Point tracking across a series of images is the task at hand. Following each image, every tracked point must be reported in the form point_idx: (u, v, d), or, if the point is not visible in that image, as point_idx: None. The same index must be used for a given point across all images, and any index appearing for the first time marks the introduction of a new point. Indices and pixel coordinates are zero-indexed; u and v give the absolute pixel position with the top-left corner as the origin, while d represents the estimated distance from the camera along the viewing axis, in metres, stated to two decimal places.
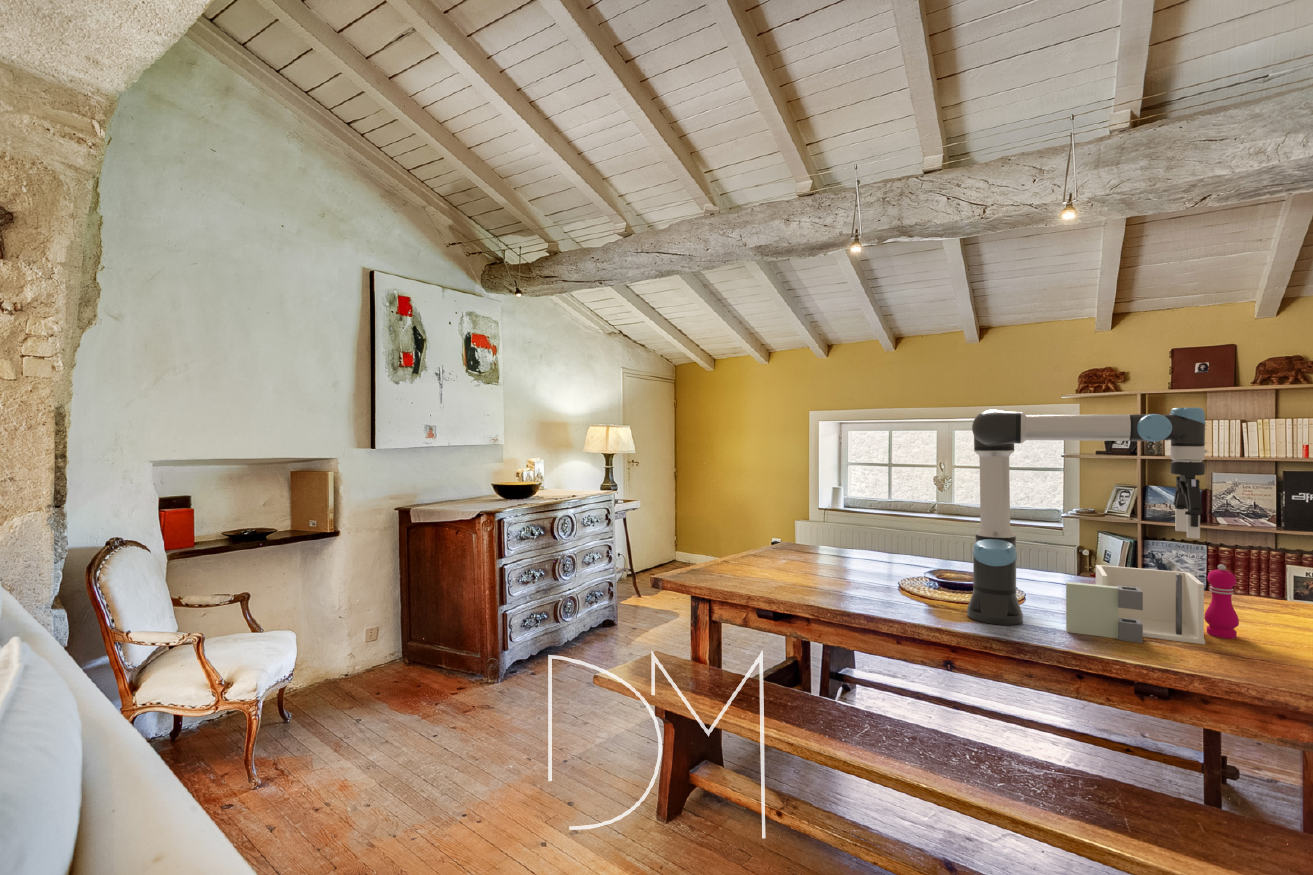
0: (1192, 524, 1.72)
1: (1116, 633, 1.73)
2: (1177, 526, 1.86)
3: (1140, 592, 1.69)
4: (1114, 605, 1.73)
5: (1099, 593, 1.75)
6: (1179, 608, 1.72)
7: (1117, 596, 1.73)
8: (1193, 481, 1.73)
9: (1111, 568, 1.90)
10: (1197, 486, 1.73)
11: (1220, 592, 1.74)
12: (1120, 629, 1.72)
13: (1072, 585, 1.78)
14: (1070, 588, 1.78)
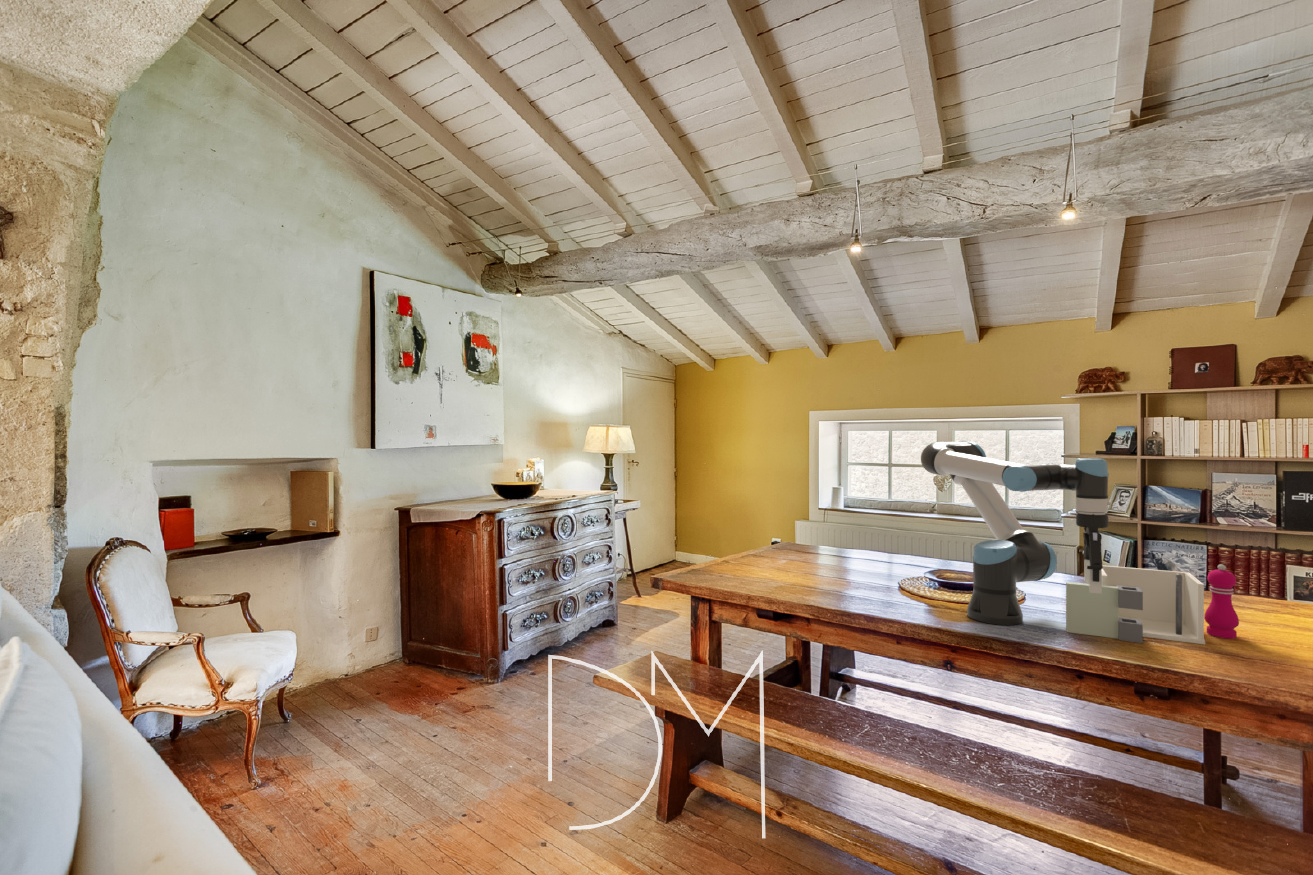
0: (1093, 579, 1.70)
1: (1116, 633, 1.73)
2: (1086, 577, 1.83)
3: (1140, 592, 1.69)
4: (1114, 605, 1.73)
5: None
6: (1179, 608, 1.72)
7: (1117, 596, 1.73)
8: (1094, 535, 1.71)
9: (1111, 568, 1.90)
10: (1098, 540, 1.70)
11: (1220, 592, 1.74)
12: (1120, 629, 1.72)
13: (1072, 585, 1.78)
14: (1070, 588, 1.78)
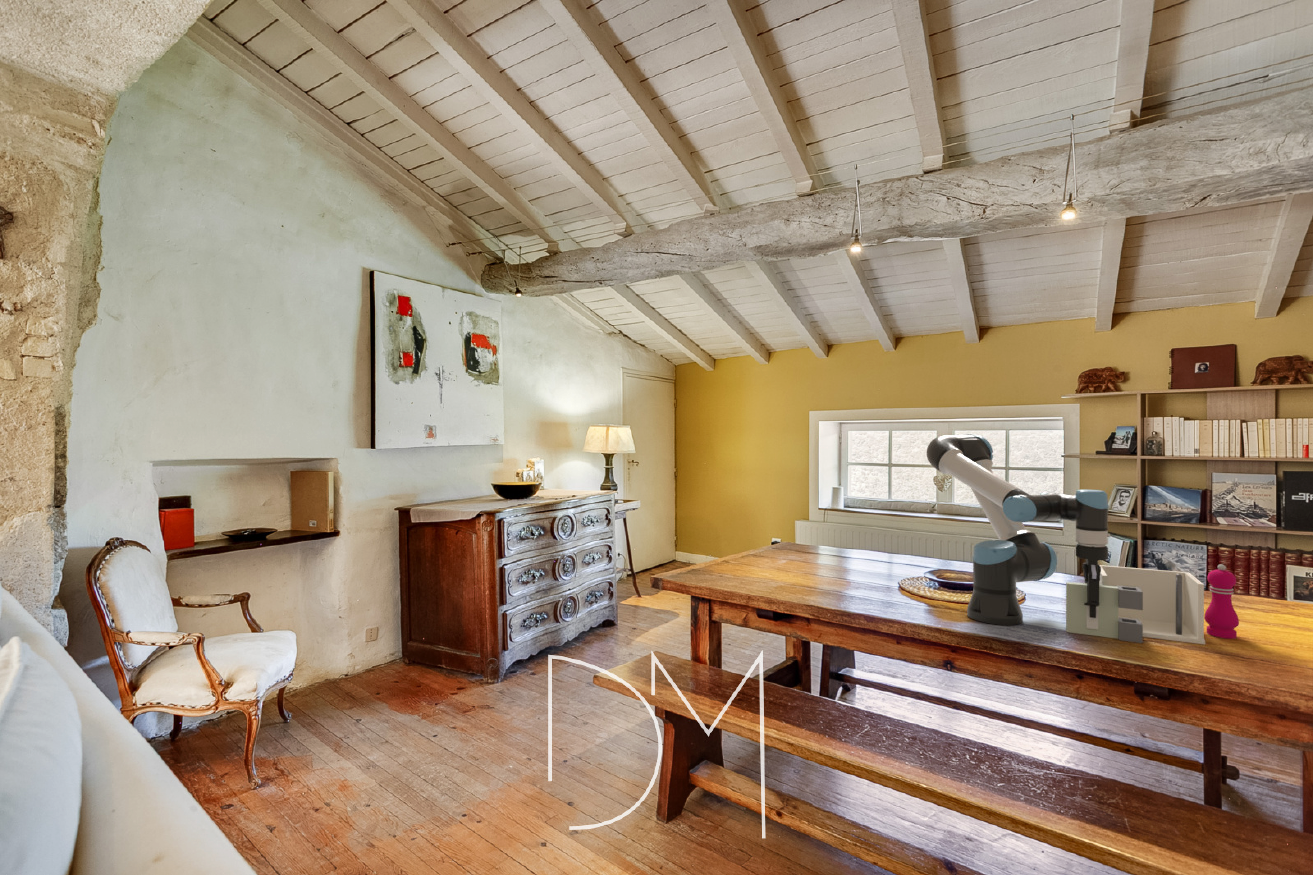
0: (1090, 615, 1.75)
1: (1116, 633, 1.73)
2: None
3: (1140, 592, 1.69)
4: (1114, 605, 1.73)
5: (1099, 593, 1.75)
6: (1179, 608, 1.72)
7: (1117, 596, 1.73)
8: (1094, 575, 1.71)
9: (1111, 568, 1.90)
10: (1097, 579, 1.71)
11: (1220, 592, 1.74)
12: (1120, 629, 1.72)
13: (1072, 585, 1.78)
14: (1070, 588, 1.78)
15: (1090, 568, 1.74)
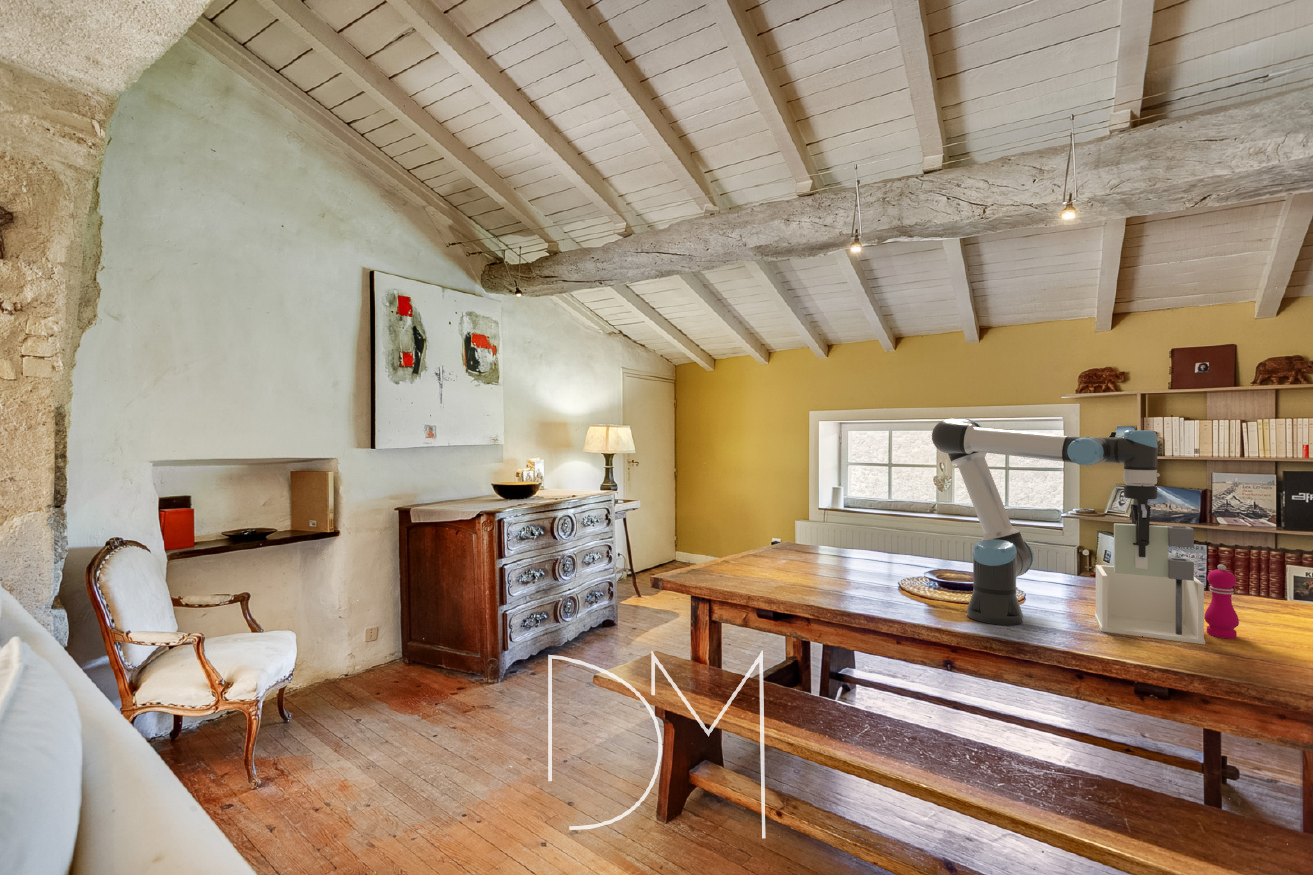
0: (1140, 554, 1.75)
1: (1166, 572, 1.73)
2: None
3: (1191, 530, 1.69)
4: (1164, 544, 1.73)
5: (1149, 533, 1.75)
6: (1179, 608, 1.72)
7: (1167, 535, 1.73)
8: (1144, 513, 1.71)
9: (1111, 568, 1.90)
10: (1147, 517, 1.71)
11: (1220, 592, 1.74)
12: (1170, 567, 1.72)
13: (1120, 526, 1.78)
14: (1119, 529, 1.78)
15: (1140, 507, 1.74)
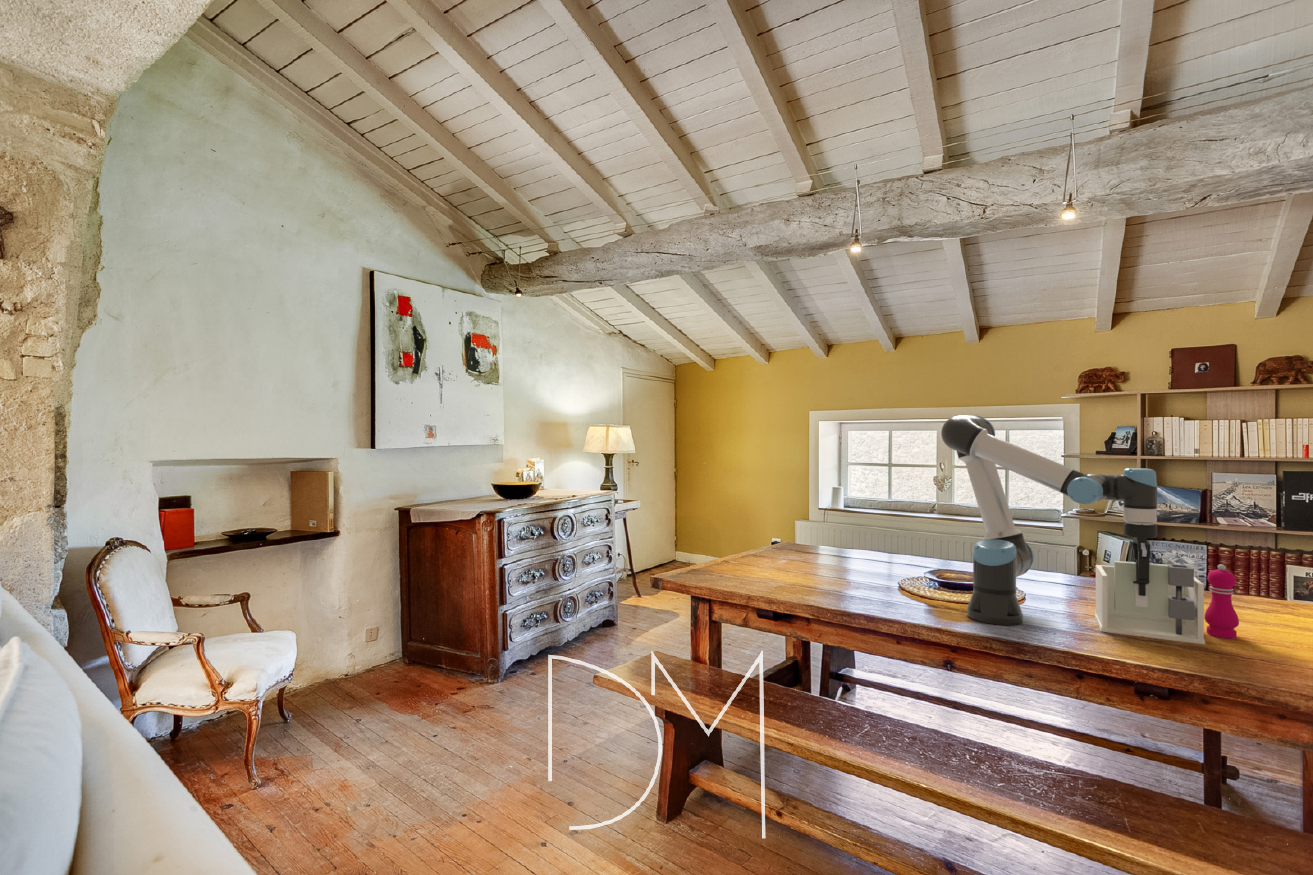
0: (1140, 593, 1.75)
1: (1166, 611, 1.73)
2: None
3: (1191, 569, 1.69)
4: (1164, 583, 1.73)
5: (1149, 571, 1.75)
6: None
7: (1167, 574, 1.73)
8: (1144, 552, 1.71)
9: (1111, 568, 1.90)
10: (1147, 557, 1.72)
11: (1220, 592, 1.74)
12: (1171, 607, 1.72)
13: (1121, 564, 1.78)
14: (1119, 567, 1.78)
15: (1139, 546, 1.74)
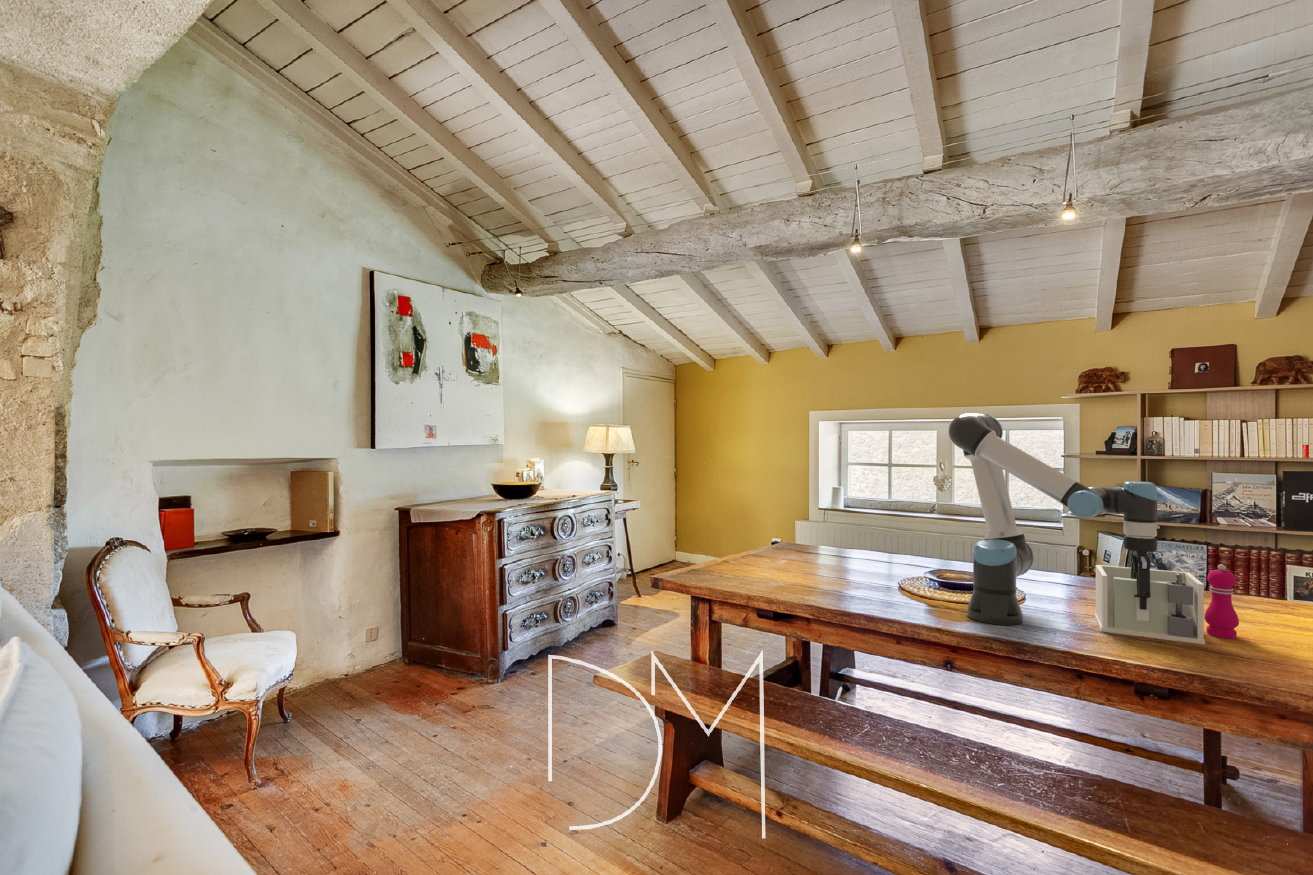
0: (1141, 607, 1.73)
1: (1165, 628, 1.73)
2: None
3: (1190, 587, 1.70)
4: (1163, 600, 1.74)
5: None
6: (1179, 608, 1.72)
7: (1166, 591, 1.73)
8: (1144, 564, 1.71)
9: (1111, 568, 1.90)
10: (1148, 569, 1.71)
11: (1220, 592, 1.74)
12: (1170, 624, 1.72)
13: (1120, 580, 1.78)
14: (1118, 583, 1.79)
15: (1139, 559, 1.74)
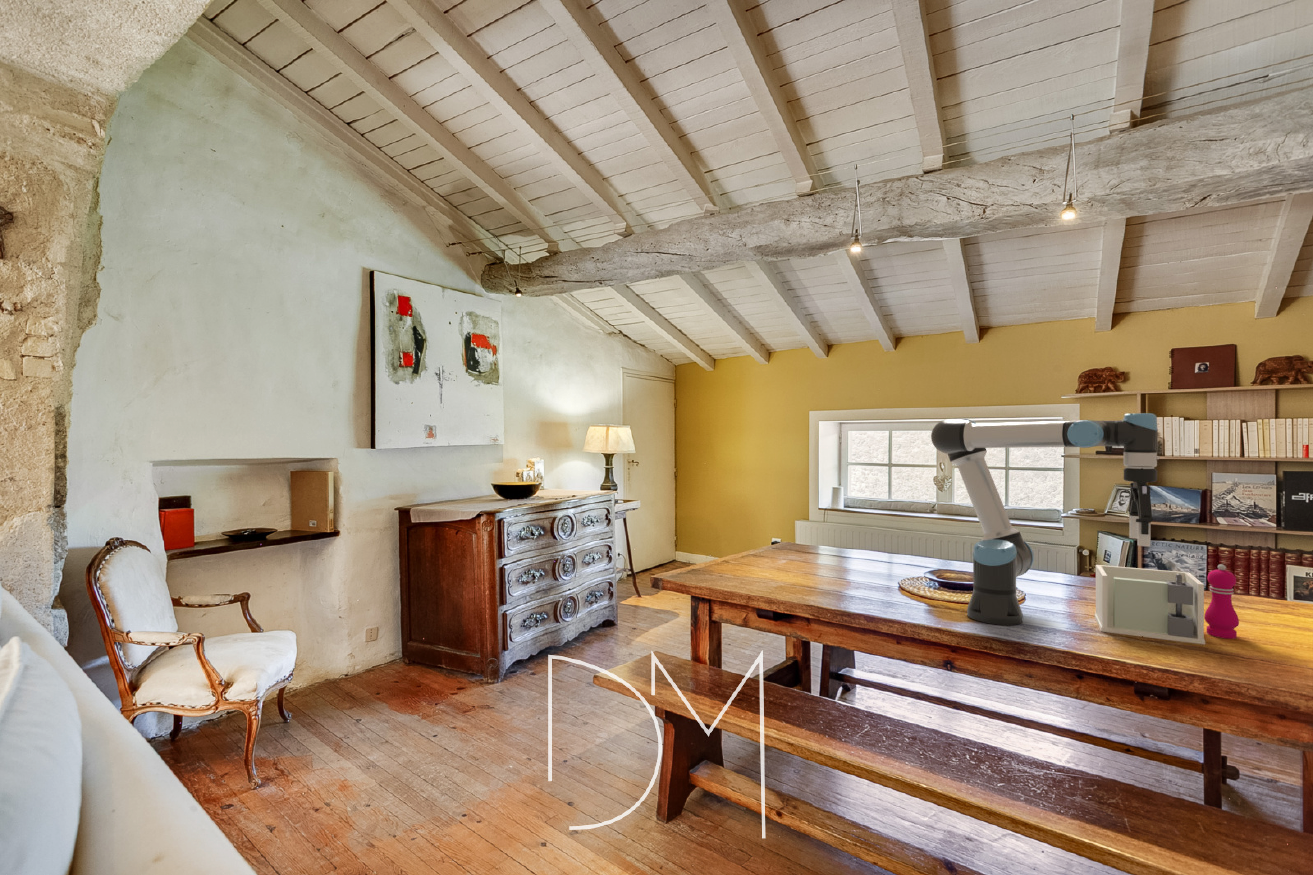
0: (1142, 532, 1.70)
1: (1165, 628, 1.73)
2: (1131, 533, 1.83)
3: (1190, 587, 1.70)
4: (1163, 600, 1.74)
5: (1148, 588, 1.75)
6: (1179, 608, 1.72)
7: (1166, 591, 1.73)
8: (1144, 488, 1.71)
9: (1111, 568, 1.90)
10: (1148, 493, 1.70)
11: (1220, 592, 1.74)
12: (1170, 624, 1.72)
13: (1120, 580, 1.78)
14: (1118, 583, 1.79)
15: None
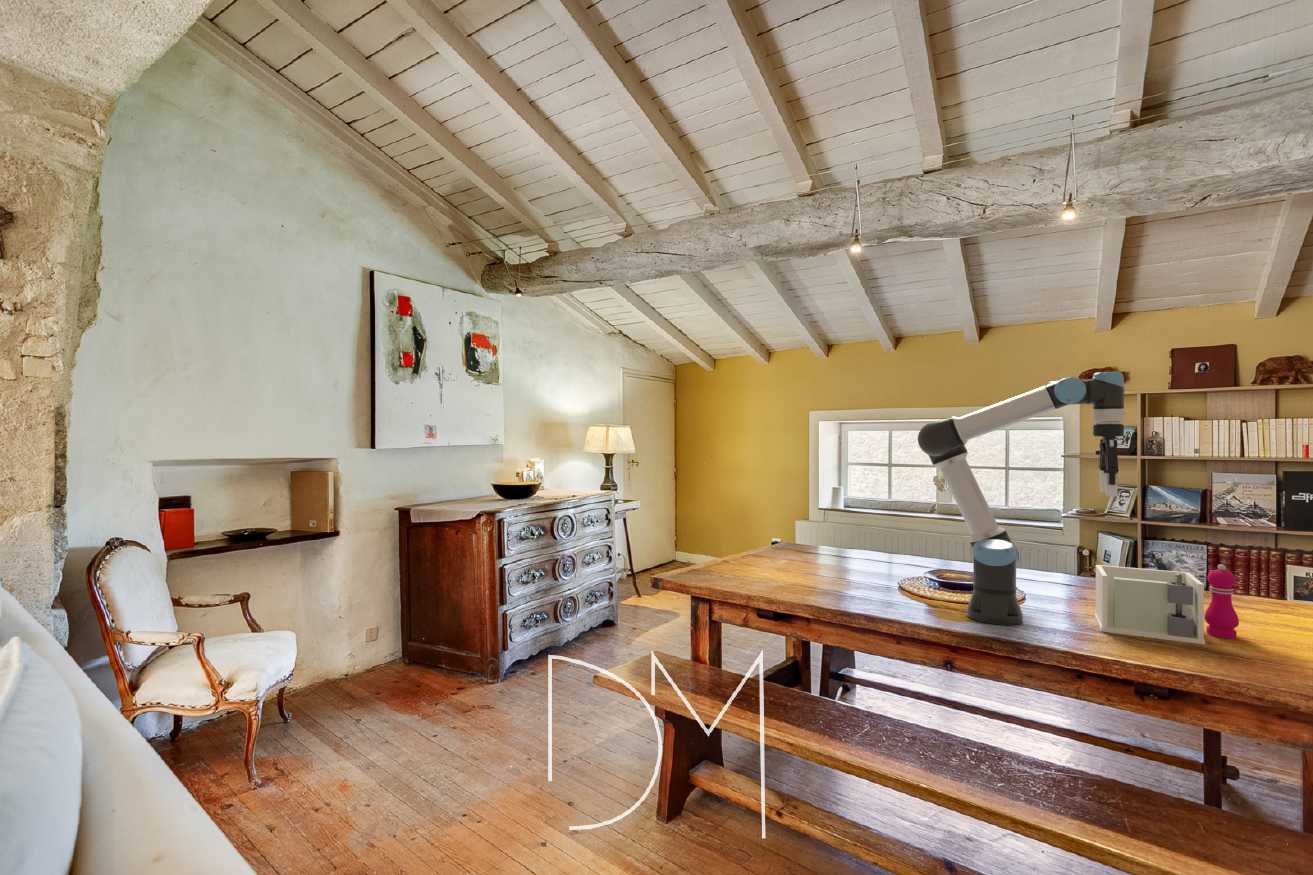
0: (1110, 482, 1.81)
1: (1165, 628, 1.73)
2: (1101, 487, 1.94)
3: (1190, 587, 1.70)
4: (1163, 600, 1.74)
5: (1148, 588, 1.75)
6: (1179, 608, 1.72)
7: (1166, 591, 1.73)
8: (1111, 441, 1.82)
9: (1111, 568, 1.90)
10: (1115, 446, 1.81)
11: (1220, 592, 1.74)
12: (1170, 624, 1.72)
13: (1120, 580, 1.78)
14: (1118, 583, 1.79)
15: None
